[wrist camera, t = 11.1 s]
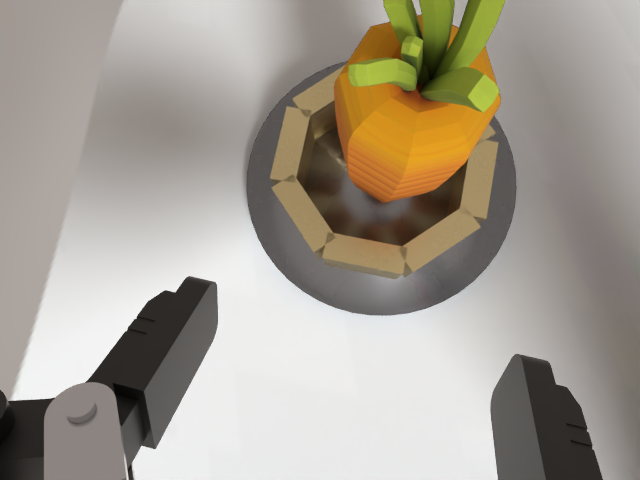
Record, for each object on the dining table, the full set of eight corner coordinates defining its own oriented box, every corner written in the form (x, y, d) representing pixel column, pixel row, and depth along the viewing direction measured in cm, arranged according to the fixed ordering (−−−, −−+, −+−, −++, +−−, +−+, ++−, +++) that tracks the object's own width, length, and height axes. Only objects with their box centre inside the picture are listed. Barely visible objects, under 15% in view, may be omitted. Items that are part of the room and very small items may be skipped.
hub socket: (526, 88, 25) (559, 45, 21) (488, 341, 23) (517, 346, 19) (281, 49, 26) (269, 2, 22) (224, 285, 24) (199, 279, 20)
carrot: (422, 237, 23) (579, 121, 8) (327, 222, 23) (310, 83, 8) (436, 145, 24) (604, -118, 9) (342, 130, 24) (352, -148, 9)
